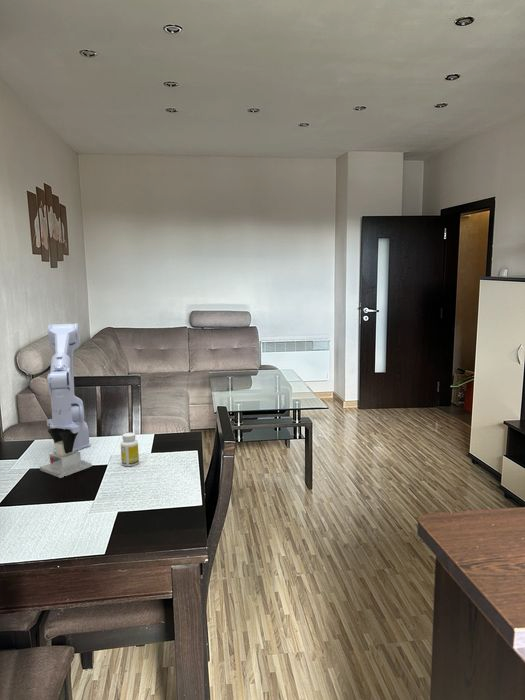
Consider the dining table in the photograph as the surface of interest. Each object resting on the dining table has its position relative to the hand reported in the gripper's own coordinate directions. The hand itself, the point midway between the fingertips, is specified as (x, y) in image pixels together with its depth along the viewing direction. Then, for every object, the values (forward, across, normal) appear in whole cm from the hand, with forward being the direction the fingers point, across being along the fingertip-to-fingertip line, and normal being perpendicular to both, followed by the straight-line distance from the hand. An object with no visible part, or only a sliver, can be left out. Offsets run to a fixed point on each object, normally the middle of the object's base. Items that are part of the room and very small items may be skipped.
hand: (64, 451), depth 155 cm
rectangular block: (+6, 0, 0) cm, 6 cm away
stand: (+6, 0, 0) cm, 6 cm away
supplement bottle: (+6, +14, +14) cm, 21 cm away
